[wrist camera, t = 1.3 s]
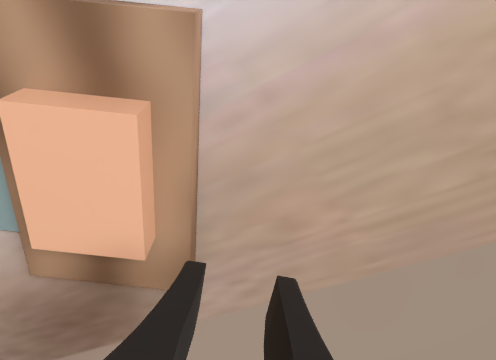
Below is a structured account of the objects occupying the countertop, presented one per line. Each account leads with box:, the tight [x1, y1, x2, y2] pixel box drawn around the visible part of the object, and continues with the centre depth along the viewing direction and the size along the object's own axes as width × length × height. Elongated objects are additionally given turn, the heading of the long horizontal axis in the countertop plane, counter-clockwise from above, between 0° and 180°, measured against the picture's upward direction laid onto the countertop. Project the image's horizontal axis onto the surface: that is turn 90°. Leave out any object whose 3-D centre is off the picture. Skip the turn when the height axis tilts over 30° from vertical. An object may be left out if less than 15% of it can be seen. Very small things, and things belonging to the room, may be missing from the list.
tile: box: [0, 88, 155, 261], centre depth 19 cm, size 6×8×2 cm
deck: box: [0, 0, 202, 290], centre depth 20 cm, size 10×16×2 cm, turn 175°
